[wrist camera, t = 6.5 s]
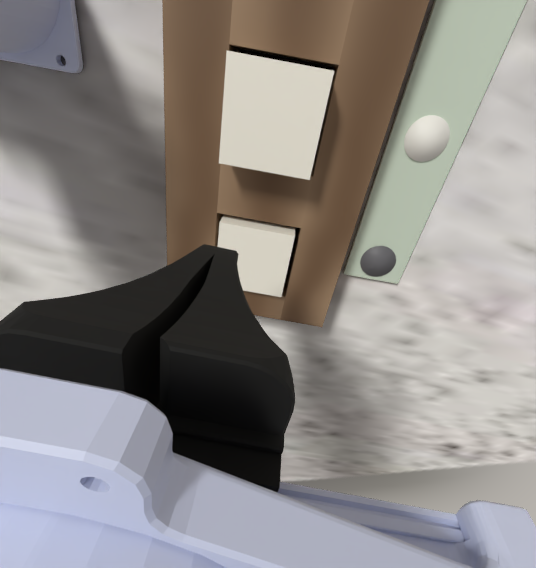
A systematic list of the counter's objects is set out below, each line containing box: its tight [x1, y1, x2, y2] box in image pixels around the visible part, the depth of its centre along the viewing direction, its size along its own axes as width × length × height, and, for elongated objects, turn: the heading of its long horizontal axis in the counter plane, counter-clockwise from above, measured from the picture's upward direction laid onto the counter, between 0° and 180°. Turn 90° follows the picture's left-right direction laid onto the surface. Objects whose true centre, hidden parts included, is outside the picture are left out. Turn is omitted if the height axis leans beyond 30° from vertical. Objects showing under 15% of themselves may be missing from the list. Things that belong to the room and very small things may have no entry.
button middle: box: [219, 51, 334, 180], centre depth 16 cm, size 4×4×3 cm
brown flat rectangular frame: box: [163, 0, 429, 327], centre depth 17 cm, size 11×25×3 cm, turn 171°
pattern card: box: [343, 0, 527, 284], centre depth 18 cm, size 4×19×1 cm, turn 171°
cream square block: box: [218, 214, 295, 297], centre depth 21 cm, size 4×4×3 cm
